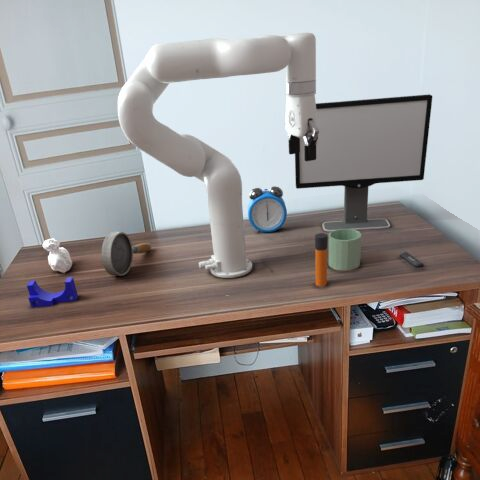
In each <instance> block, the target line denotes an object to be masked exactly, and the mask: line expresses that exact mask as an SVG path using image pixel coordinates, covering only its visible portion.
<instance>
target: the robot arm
mask: <svg viewBox="0 0 480 480" xmlns="http://www.w3.org/2000/svg"><path fill="white" fill-rule="evenodd" d="M316 47H317V40H316V36H315V34H314V33H313V32H298V33H291V34H289V35H275V34H266V35H263V36H261V37H253V38H243V39H241V38H240V39H239V38H238V39H226V38H204V39H195V40H186V41H185V40H184V41H176V42H166V43H164V42H160V43H156V44H154V45H153V46H151V48H149V50H148V52H147V53H146V55H145V56H144V57H143V59H142V60H141V62H140V63H139V65H137V67H136V68H135V70H134V72H133V73H132V74H131V75H130V77H129V78H128V79H127V81H126V82H125V83H124V85H122V88H121V90H120V92H119V94H118V97H117V117H118V122H119V126H120V129H121V131H122V132H123V134H124V136H125V137H126V139H127V140H128V141H129V142H130V143H131V144H132V145H133V146H135V147H136V148H137V149H138V150H140V151H142V152H144V153H145V154H147V156H148V155H149V156H150V157H152V158H153V159H155V160H156V161H158V162H160V163H161V164H163V165H165V166H166V167H168V168H169V169H171V170H173V171H174V172H176V173H178V174H179V175H180V176H183V177H187V178H193V177H194V178H196V179H197V180H200V181H201V182H203V183H205V184H204V185H205V189H206V195H207V197H206V198H207V208H208V218H209V226H210V234H211V242H212V251H213V252H212V253H213V254H212V255H211V257H210V258H209V259H208V260H202V261H199V262H198V267H199V269H200V270H201V269H205V271H209V270H210V273H211V274H212V276H215V277H217V278H220V279H221V278H222V279H234V278H239V277H243V276H245V275H248V274H249V273H250V272H251V271H252V270H253V262H252V261H251V260H250V259H248V258H247V249H246V248H247V247H246V246H247V245H246V237H245V223H244V210H243V181H242V177H241V174H240V171H239V169H238V168H237V166H236V165H235V164H234V163H233V161H232V160H231V159H230V158H229V157H228V156H226V155H225V154H223V153H221V152H220V151H219V150H217V149H216V148H214V147H212V146H210V145H209V144H207V143H206V142H204V141H202V140H201V139H199V138H197V137H195V136H193V135H190V134H187V133H186V134H184V133H182V134H180V133H178V132H176V131H175V130H173V129H172V128H170V127H169V126H167V125H165V124H164V123H162V122H160V121H159V120H158V119H156V117H155V116H154V113H153V111H154V110H153V109H154V104H155V103H156V102H157V101H158V99H159V98H160V96H161V95H162V94H163V93H164V91H165V90H166V89H167V88H168V85H170V84H173V83H181V82H182V83H183V82H189V81H198V80H209V79H224V78H225V79H226V78H230V77H238V76H250V75H251V76H252V75H261V74H269V73H277V72H280V71H282V70H284V69H285V90H286V91H285V92H286V100H285V115H284V116H285V121H284V122H285V123H284V125H285V132H286V133H287V140H288V154H289V155H295V154H296V153H300V138H301V137H302V136H303V138H304V141H305V144H306V146H304V157H305V161H312V160H316V145H317V140H318V134H319V128H318V127H317V116H316V104H317V103H316V102H317V101H316V94H317V48H316ZM298 137H299V138H298ZM308 137H310V138H309V140H308Z"/></svg>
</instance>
